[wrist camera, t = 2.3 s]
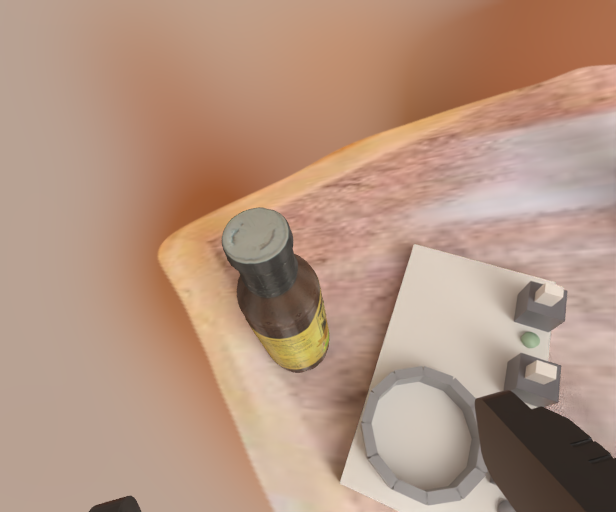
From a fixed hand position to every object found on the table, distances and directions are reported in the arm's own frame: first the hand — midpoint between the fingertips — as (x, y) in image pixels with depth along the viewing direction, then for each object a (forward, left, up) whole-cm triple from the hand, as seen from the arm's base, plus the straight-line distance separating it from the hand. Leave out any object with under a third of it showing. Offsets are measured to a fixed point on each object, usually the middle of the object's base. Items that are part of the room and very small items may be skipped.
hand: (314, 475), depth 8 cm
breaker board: (-11, +7, -27) cm, 30 cm away
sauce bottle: (-9, -8, -27) cm, 30 cm away
